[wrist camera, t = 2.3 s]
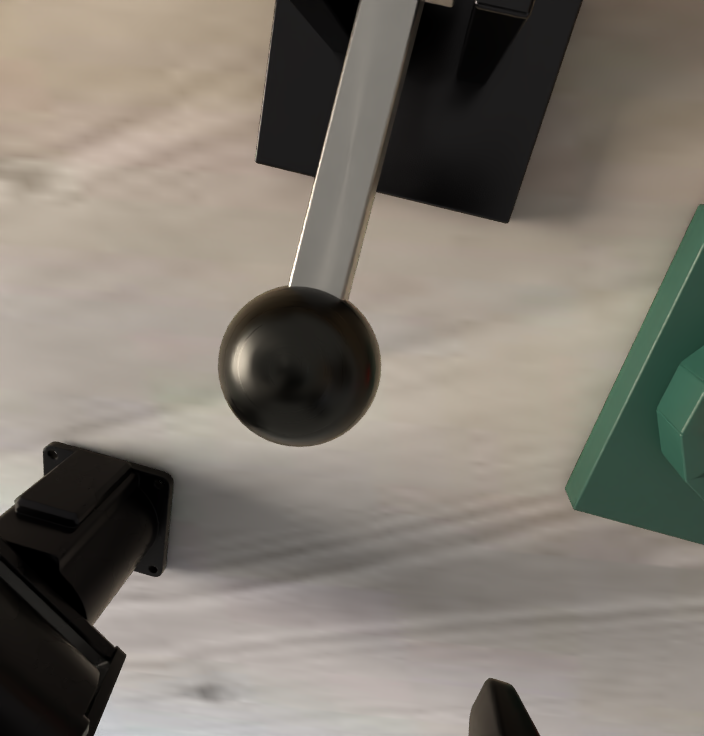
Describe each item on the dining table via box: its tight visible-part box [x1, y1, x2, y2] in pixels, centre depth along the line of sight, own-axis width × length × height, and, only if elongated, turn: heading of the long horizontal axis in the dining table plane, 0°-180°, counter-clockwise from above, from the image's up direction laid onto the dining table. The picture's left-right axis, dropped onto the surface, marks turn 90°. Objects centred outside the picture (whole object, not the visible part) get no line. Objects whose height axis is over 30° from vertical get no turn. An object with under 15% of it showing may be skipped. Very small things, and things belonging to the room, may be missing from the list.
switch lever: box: [218, 0, 455, 447], centre depth 10 cm, size 12×3×3 cm, turn 168°
